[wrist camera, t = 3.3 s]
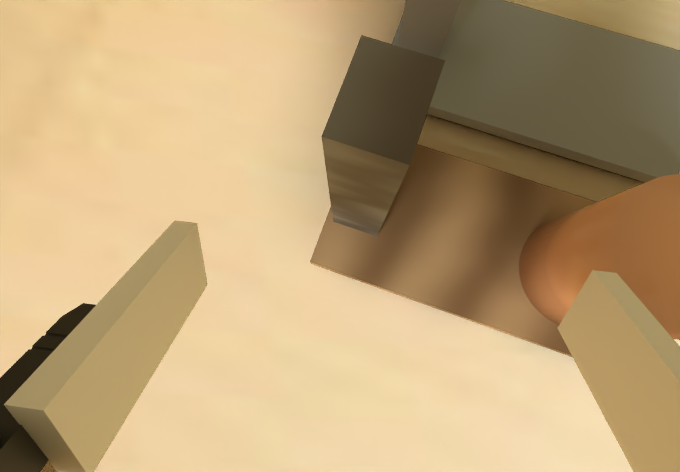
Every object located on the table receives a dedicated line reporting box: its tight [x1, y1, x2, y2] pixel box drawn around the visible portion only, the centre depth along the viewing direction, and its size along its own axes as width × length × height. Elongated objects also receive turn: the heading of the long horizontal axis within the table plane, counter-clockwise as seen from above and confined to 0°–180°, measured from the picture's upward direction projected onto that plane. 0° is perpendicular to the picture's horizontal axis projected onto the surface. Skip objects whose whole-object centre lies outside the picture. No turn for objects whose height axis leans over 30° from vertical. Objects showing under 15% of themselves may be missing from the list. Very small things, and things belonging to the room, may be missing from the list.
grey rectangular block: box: [392, 0, 680, 182], centre depth 20 cm, size 21×10×13 cm, turn 70°
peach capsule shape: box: [519, 174, 680, 340], centre depth 19 cm, size 7×7×8 cm
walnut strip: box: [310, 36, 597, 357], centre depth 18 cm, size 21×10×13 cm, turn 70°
